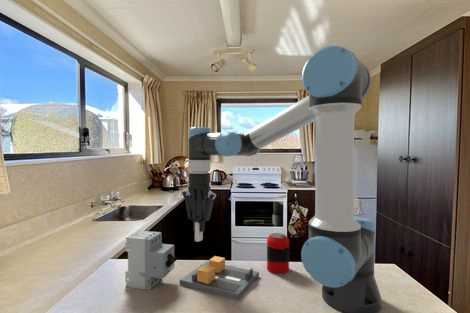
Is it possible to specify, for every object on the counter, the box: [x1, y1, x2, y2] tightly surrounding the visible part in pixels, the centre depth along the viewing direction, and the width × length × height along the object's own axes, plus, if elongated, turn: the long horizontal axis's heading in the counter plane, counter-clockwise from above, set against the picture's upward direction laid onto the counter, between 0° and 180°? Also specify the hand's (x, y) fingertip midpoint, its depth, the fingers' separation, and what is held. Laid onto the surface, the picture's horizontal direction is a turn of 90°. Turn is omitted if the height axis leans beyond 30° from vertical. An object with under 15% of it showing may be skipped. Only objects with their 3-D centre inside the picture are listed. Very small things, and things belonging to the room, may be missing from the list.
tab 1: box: [197, 265, 215, 284], centre depth 84 cm, size 4×4×4 cm
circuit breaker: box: [124, 230, 177, 290], centre depth 85 cm, size 8×14×15 cm, turn 78°
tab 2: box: [208, 255, 226, 273], centre depth 91 cm, size 4×4×4 cm
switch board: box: [179, 260, 260, 301], centre depth 87 cm, size 20×16×4 cm
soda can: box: [266, 232, 290, 275], centre depth 95 cm, size 8×8×12 cm
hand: (198, 240), depth 94 cm, fingers closed
